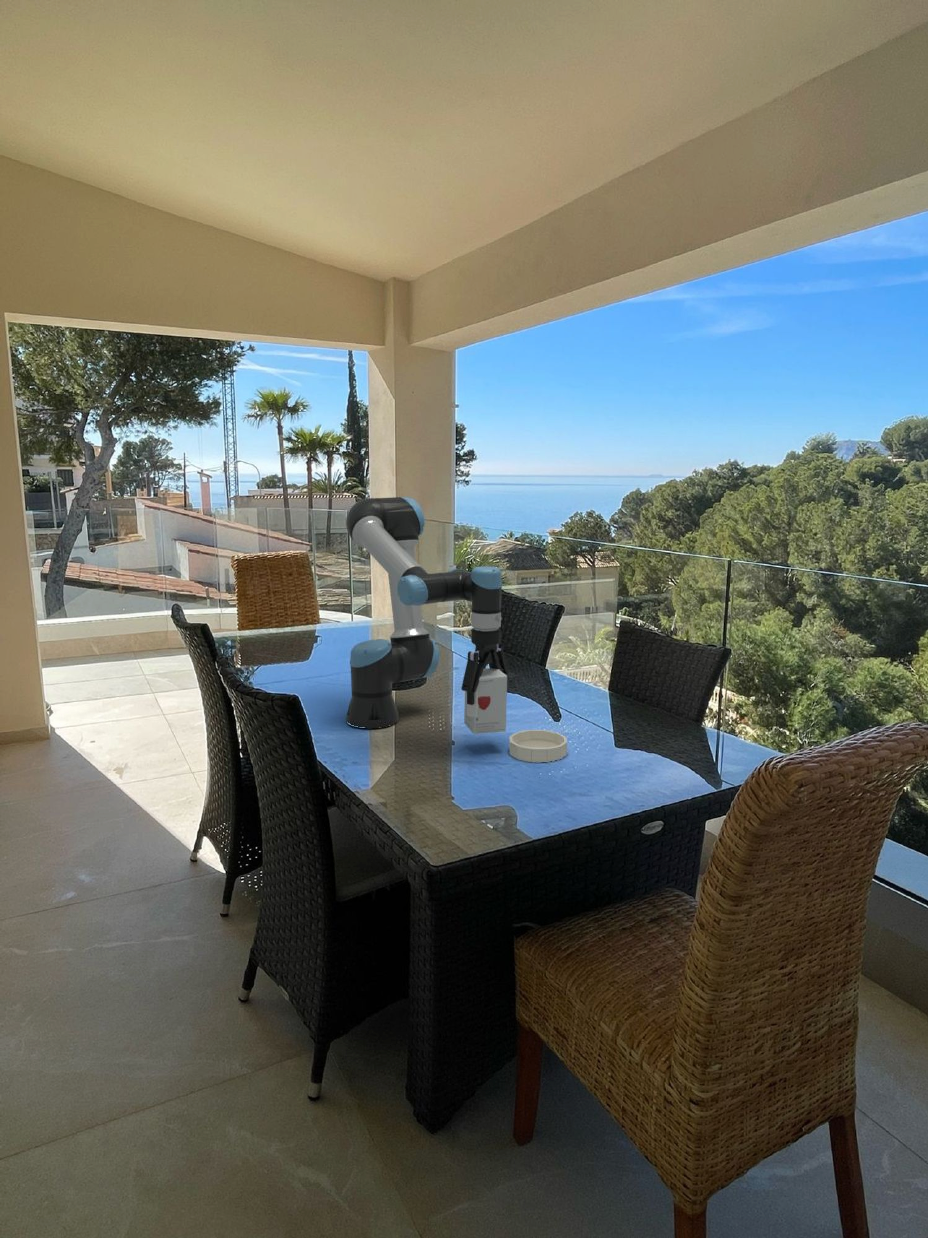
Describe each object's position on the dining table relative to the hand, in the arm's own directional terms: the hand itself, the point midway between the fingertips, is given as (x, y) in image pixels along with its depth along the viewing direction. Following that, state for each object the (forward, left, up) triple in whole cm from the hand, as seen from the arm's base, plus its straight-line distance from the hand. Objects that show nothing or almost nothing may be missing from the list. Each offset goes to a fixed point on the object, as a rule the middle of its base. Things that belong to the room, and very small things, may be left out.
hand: (485, 709), depth 200 cm
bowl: (+13, +5, -11) cm, 17 cm away
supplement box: (0, 0, -5) cm, 5 cm away
